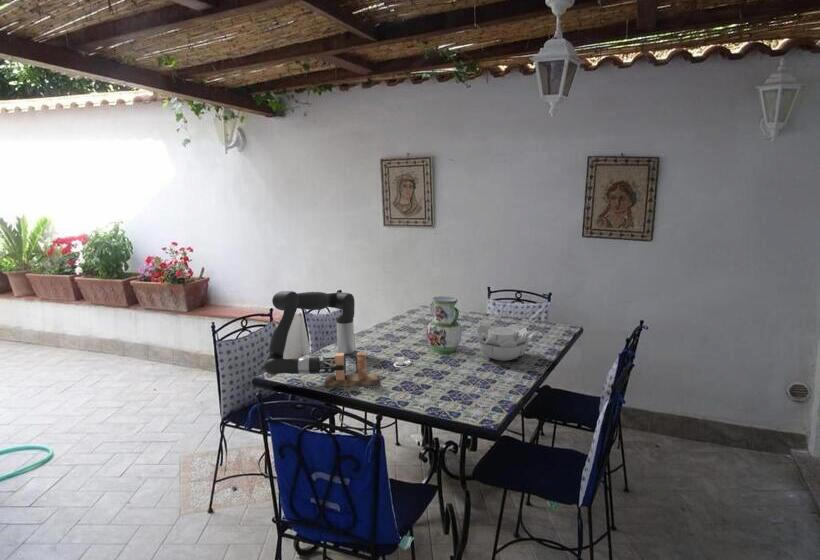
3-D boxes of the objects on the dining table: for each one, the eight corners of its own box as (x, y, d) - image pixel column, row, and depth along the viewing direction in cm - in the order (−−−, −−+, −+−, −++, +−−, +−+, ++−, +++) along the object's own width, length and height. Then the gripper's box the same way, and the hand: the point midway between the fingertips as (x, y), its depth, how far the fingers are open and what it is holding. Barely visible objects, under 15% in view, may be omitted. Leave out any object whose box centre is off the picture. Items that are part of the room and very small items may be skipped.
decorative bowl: (540, 354, 278) (541, 327, 275) (519, 371, 254) (520, 341, 251) (488, 345, 295) (489, 319, 292) (464, 360, 270) (464, 332, 268)
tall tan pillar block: (336, 384, 240) (334, 355, 238) (336, 381, 244) (335, 353, 242) (346, 384, 241) (344, 355, 238) (346, 381, 245) (345, 352, 242)
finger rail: (325, 386, 238) (323, 357, 236) (326, 380, 246) (325, 352, 244) (377, 384, 240) (376, 355, 237) (377, 378, 247) (376, 350, 245)
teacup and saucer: (412, 363, 269) (412, 356, 268) (408, 368, 261) (407, 361, 260) (396, 362, 271) (395, 354, 270) (391, 367, 263) (391, 359, 263)
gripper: (306, 363, 232) (343, 361, 233) (310, 352, 246) (345, 351, 247) (307, 379, 234) (343, 377, 235) (311, 368, 248) (345, 366, 249)
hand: (344, 364), depth 241 cm, fingers open, 8 cm apart
